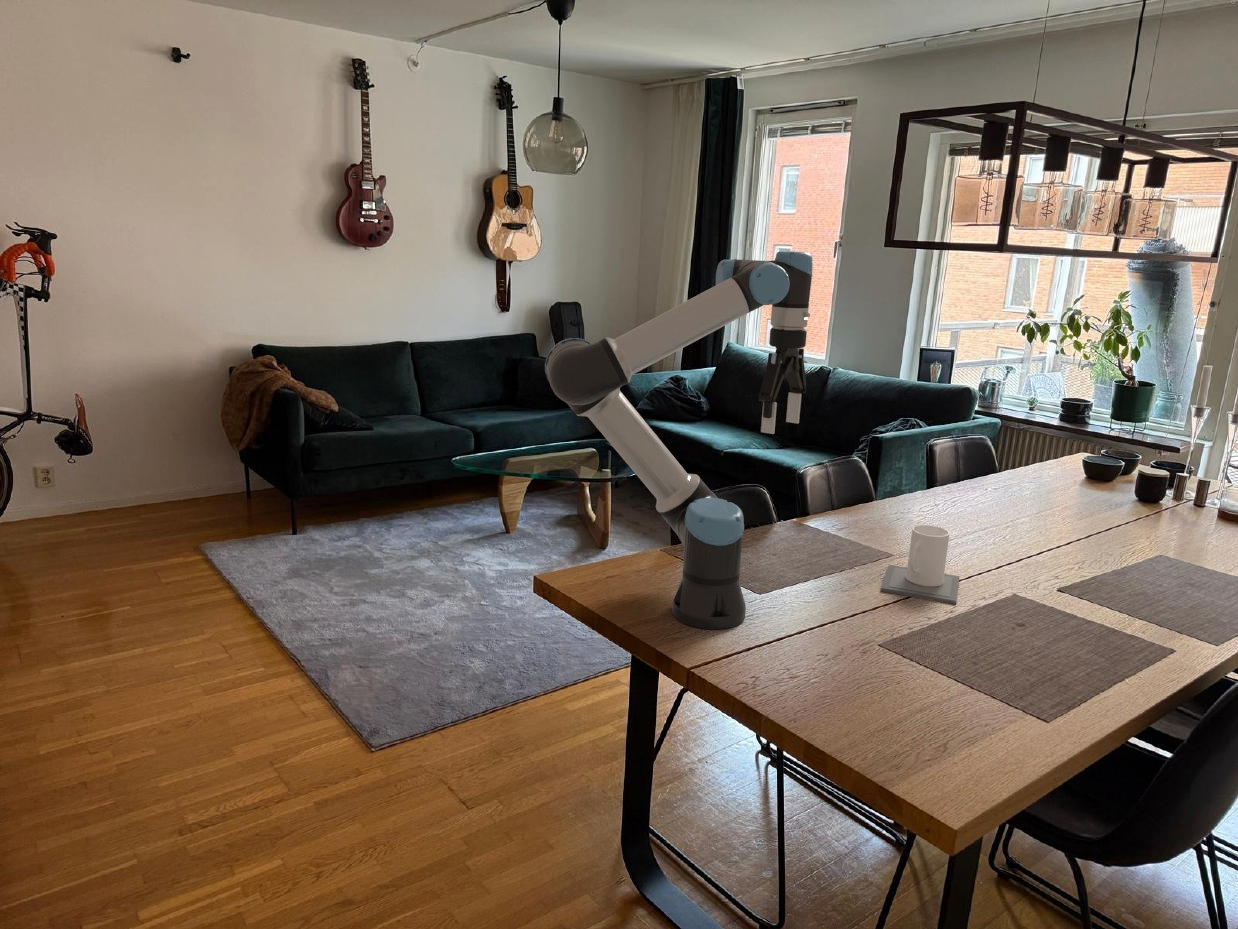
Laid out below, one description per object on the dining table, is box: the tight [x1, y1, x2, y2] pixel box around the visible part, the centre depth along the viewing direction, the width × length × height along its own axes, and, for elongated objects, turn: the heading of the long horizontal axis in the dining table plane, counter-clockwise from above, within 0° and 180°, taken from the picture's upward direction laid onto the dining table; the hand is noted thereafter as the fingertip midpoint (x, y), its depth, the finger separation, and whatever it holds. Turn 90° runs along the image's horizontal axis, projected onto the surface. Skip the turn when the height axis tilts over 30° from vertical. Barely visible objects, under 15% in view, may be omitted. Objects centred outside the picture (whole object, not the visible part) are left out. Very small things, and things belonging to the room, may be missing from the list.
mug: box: [905, 524, 950, 587], centre depth 201 cm, size 12×8×12 cm
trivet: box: [880, 564, 960, 605], centre depth 203 cm, size 16×16×1 cm
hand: (780, 427), depth 189 cm, fingers open, 13 cm apart
